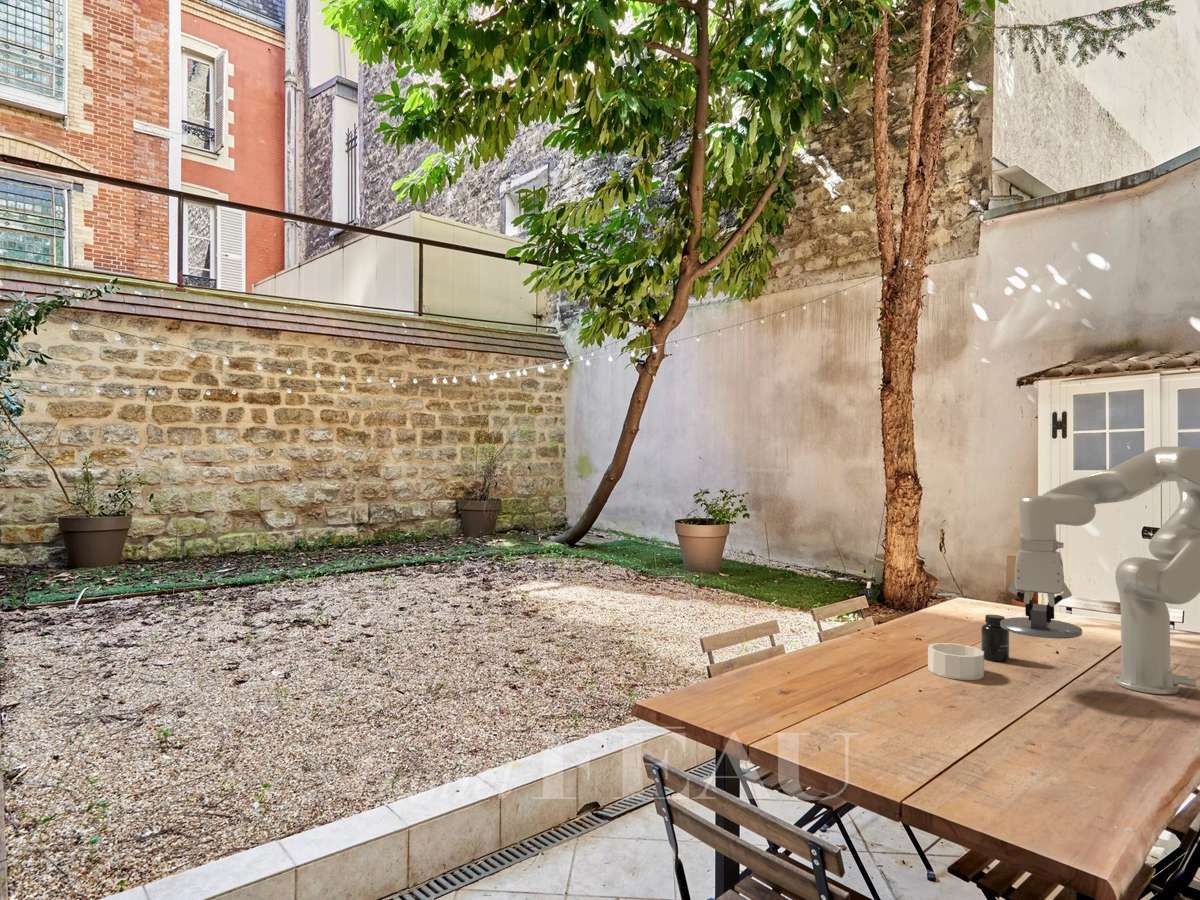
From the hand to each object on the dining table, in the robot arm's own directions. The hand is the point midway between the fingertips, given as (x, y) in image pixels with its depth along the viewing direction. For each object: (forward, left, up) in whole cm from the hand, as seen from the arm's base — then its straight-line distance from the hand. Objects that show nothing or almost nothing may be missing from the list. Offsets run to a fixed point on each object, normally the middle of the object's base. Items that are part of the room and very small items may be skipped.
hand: (1039, 619), depth 169 cm
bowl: (+19, -2, -17) cm, 26 cm away
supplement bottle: (+12, -21, -17) cm, 30 cm away
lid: (0, 0, -2) cm, 2 cm away
